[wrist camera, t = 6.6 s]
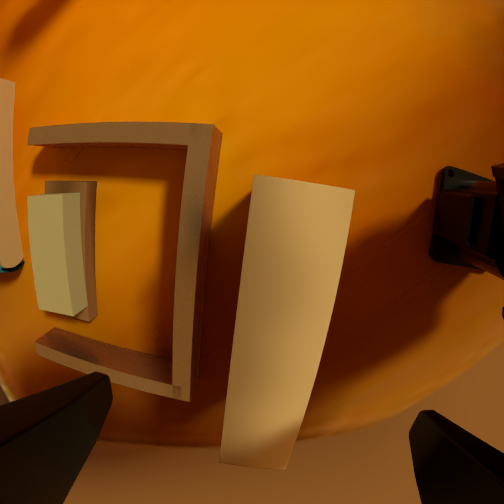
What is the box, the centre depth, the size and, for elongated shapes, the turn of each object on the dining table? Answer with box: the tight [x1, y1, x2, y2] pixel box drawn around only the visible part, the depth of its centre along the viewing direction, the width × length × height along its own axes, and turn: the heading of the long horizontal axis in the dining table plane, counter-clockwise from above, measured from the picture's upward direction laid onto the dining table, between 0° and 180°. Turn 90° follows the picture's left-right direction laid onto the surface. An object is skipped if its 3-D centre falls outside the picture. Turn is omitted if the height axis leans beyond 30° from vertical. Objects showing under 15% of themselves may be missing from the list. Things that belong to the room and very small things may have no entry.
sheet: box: [219, 175, 355, 470], centre depth 15 cm, size 3×12×10 cm, turn 173°
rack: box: [28, 122, 222, 402], centre depth 19 cm, size 13×17×3 cm
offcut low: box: [45, 180, 98, 322], centre depth 20 cm, size 4×10×2 cm, turn 174°
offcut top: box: [27, 193, 88, 316], centre depth 18 cm, size 3×8×2 cm, turn 178°
